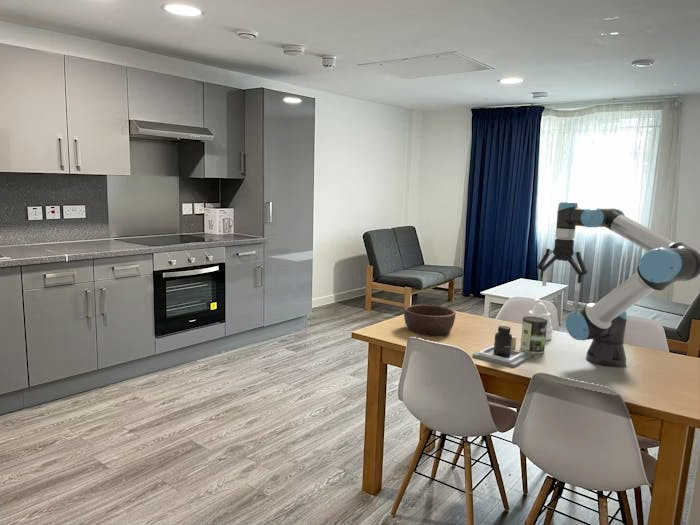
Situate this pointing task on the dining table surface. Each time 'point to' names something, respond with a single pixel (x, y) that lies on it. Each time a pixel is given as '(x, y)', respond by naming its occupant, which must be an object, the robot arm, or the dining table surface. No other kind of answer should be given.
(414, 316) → the wooden bowl
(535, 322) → the coffee can
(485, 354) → the board
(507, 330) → the supplement bottle
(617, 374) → the dining table surface
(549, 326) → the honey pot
